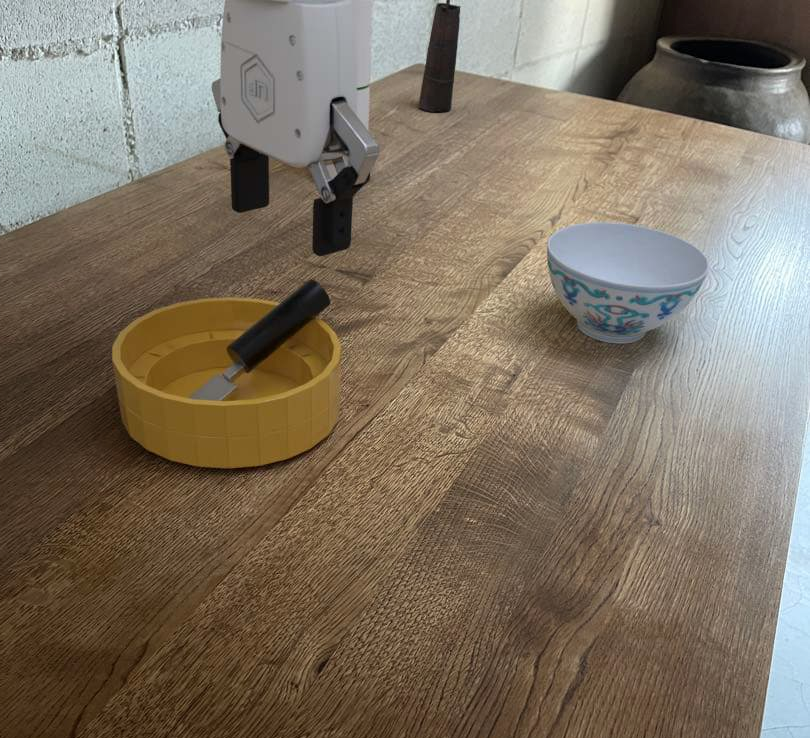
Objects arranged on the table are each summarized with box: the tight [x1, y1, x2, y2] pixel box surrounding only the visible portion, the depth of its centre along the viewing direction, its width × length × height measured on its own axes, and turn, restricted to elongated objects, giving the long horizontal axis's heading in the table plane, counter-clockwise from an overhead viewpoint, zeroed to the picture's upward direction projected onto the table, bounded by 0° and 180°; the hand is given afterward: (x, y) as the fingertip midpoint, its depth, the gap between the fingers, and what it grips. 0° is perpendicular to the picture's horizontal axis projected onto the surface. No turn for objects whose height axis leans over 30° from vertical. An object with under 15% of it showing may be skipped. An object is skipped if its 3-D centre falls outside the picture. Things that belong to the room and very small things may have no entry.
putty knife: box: [188, 278, 331, 401], centre depth 72 cm, size 16×3×3 cm, turn 134°
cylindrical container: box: [326, 0, 374, 180], centre depth 113 cm, size 7×7×25 cm
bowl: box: [111, 296, 342, 469], centre depth 72 cm, size 17×17×6 cm
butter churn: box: [418, 0, 461, 113], centre depth 138 cm, size 9×10×28 cm
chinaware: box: [546, 221, 710, 345], centre depth 88 cm, size 15×15×8 cm
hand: (289, 229), depth 70 cm, fingers open, 9 cm apart
